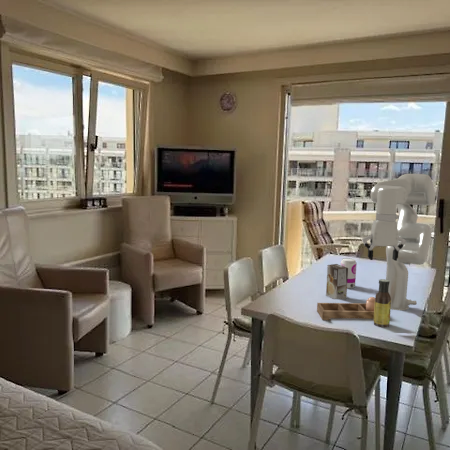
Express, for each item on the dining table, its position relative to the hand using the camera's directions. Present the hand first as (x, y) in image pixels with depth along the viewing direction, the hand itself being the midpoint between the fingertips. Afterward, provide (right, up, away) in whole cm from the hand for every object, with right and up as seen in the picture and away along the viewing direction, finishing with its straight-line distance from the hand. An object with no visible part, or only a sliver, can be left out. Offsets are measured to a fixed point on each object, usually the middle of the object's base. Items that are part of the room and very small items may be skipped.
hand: (382, 259), depth 176 cm
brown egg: (+1, -25, +15) cm, 30 cm away
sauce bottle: (+1, -28, +4) cm, 29 cm away
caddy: (-8, -26, +15) cm, 31 cm away
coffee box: (-8, -22, +41) cm, 48 cm away
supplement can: (+2, -20, +60) cm, 63 cm away
